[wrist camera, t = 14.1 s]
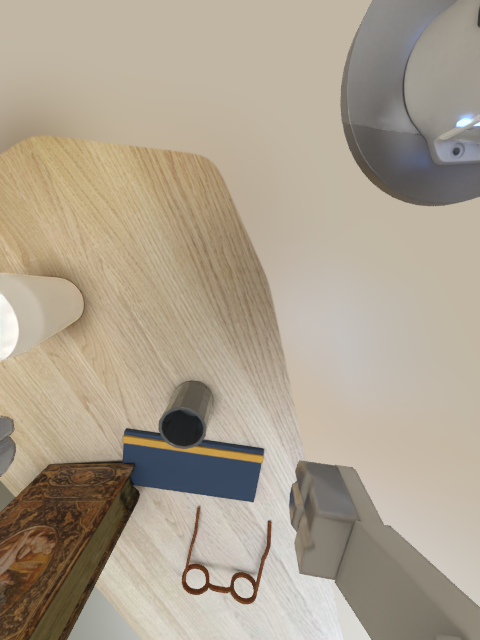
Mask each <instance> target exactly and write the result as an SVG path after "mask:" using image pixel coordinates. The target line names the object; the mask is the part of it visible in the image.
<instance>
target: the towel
mask: <svg viewBox="0 0 480 640" xmlns="http://www.w3.org/2000/svg"><path fill="white" fill-rule="evenodd" d="M123 443H124V450H123V464H133V466H134V470H133V472H132V475H131V476H130V480H131V483H132V485H138V486H145V487H152V488H159V489H166V490H173V491H180V492H187V493H193V494H200V495H207V496H214V497H221V498H228V499H235V500H242V501H249V502H254V498H255V493H256V488H257V483H258V478H259V473H260V469H261V464H262V462H263V454H264V449H262V448H255V447H248V446H241V445H235V444H228V443H221V442H214V441H207V440H202V442H201V443H200V444H198V445H197V446H195V447H193V448H188V449H180V448H175V447H173V446H171V445H169V444H168V443H166V441H165V440H164V439H163V438H162V437H161V434H160V433H153V432H146V431H139V430H132V429H126V430H125V431H124V436H123Z"/></svg>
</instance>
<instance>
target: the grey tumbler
mask: <svg viewBox="0 0 480 640" xmlns="http://www.w3.org/2000/svg"><path fill="white" fill-rule="evenodd" d="M212 405H213V395H212V393H211V391H210V389H209V388H208V387H207V386H206V385H204V384H203V383H200V382H197V381H188V382H185V383H183V384H181V385H180V386H179V387H178V388H177V389H176V391H175V392H174V394H173V396H172V398H171V400H170V402H169V403H168V405H167V407H166V409H165V411H164V413H163V415H162V417H161V418H160V420H159V432H160V434H161V437H162V438H163V439H164V440H165V441H166V443H168V444H169V445H171V446H173V447H175V448H180V449H188V448H193V447H195V446H197V445H198V444H200V443H201V442H202V440H203V439H204V437H205V436H206V432H207V427H208V423H209V419H210V414H211V410H212Z"/></svg>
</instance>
